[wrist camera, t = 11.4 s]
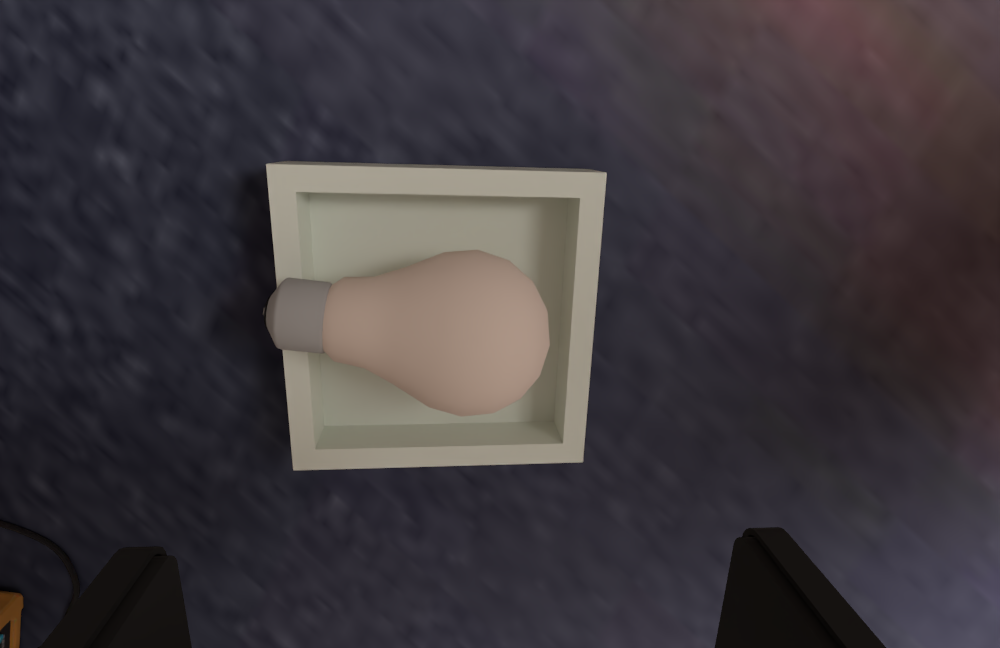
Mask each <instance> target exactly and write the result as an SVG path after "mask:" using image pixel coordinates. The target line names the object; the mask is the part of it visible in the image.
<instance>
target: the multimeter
mask: <svg viewBox="0 0 1000 648" xmlns="http://www.w3.org/2000/svg"><path fill="white" fill-rule="evenodd" d="M0 527H3V528H6V529H9V530H12V531H15V532H18V533H20V534H23V535H26V536H28V537H30V538H32V539H35V540H37V541H39V542H40V543H42V544H44V545H46V546H47V547H49V548H50V549H51V550H53V551H54V552H55V553H56V554H57V555H58V556H59V557H60V558H61V560H62V561H63V563H64V564H65V566H66V568H67V570H68V572H69V574H70V577H71V579H72V583H73V589H74V593H73V598H72V601H71V603H70V605H69V607H68V610H67V612H66V614H67V613H68V612H69V610H70V609H71V608H72V607H73V605H74V604H75V603H76V602H77V600H78V597H79V593H80V584H79V580H78V577H77V574H76V572H75V570H74V567H73V565H72V563H71V561H70V560H69V558H68V557H67V555H66V554H65V553H64V552H63V551H62V550H61V549H60V548H59V547H58V546H57V545H55V544H54V543H52V542H51V541H49V540H48V539H46V538H44V537H42V536H40V535H38V534H36V533H34V532H32V531H29V530H27V529H24V528H21V527H19V526H16V525H13V524H10V523H7V522H3V521H0ZM22 608H23V596H22V595H21V594H20V593H14V592H6V591H0V648H19V644H20V623H21V610H22ZM66 614H65V615H66Z"/></svg>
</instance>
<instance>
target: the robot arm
mask: <svg viewBox="0 0 1000 648" xmlns="http://www.w3.org/2000/svg"><path fill="white" fill-rule="evenodd" d="M38 648H192V647H191V641H190V635H189V629H188V623H187V617H186V611H185V605H184V599H183V594H182V588H181V582H180V576H179V570H178V564H177V560H176V558H175V557H174V556H167V554H166V551H165V550H164V548H163V547H126V548H122V549H119V550H118V551H117V552H116V553H115V554H114V555H113V557H112V558H111V559H110V560H109V562H108V563H107V564H106V565H105V567H104V568H103V569H102V570H101V572H100V573H99V574H98V575H97V577H96V578H95V579H94V580H93V582H92V583H91V584H90V585H89V587H88V588H87V589H86V590H85V592H84V593H83V594H82V595H81V597H80V598H79V599H78V600H77V602H76V603H75V604H74V605H73V607H72V608H71V609H70V610H69V612H68V613H67V614H66V615H65V617H64V618H63V619H62V620H61V622H60V623H59V624H58V625H57V627H56V628H55V629H54V630H53V632H52V633H51V634H50V635H49V637H48V638H47V639H46V640H45V642H44V643H43V644H42V645H41V646H40V647H38ZM715 648H886V647H885V646H884V645H883V644H882V642H881V641H880V640H879V639H878V638H877V637H876V635H875V634H874V633H873V632H872V631H871V630H870V628H869V627H868V626H867V625H866V624H865V623H864V621H863V620H862V619H861V618H860V617H859V616H858V614H857V613H856V612H855V611H854V610H853V609H852V607H851V606H850V605H849V604H848V603H847V602H846V600H845V599H844V598H843V597H842V596H841V595H840V593H839V592H838V591H837V590H836V589H835V588H834V586H833V585H832V584H831V583H830V582H829V581H828V580H827V578H826V577H825V576H824V575H823V574H822V573H821V571H820V570H819V569H818V568H817V567H816V566H815V564H814V563H813V562H812V561H811V560H810V559H809V557H808V556H807V555H806V554H805V553H804V552H803V550H802V549H801V548H800V547H799V546H798V545H797V543H796V542H795V541H794V540H793V539H792V538H791V536H790V535H789V534H788V533H787V532H786V531H785V530H784V529H782V528H779V527H774V528H749V529H746V530H745V532H744V533H743V536H742V537H739V538H737V539H736V540H735V542H734V546H733V551H732V557H731V562H730V568H729V573H728V579H727V584H726V590H725V595H724V601H723V606H722V612H721V617H720V622H719V628H718V633H717V639H716V644H715Z"/></svg>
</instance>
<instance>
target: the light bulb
mask: <svg viewBox="0 0 1000 648" xmlns="http://www.w3.org/2000/svg"><path fill="white" fill-rule="evenodd" d="M263 315H264V322H265V326H266V328H268V331H269V333H270V335H271V337H272V339H273V341H274V344H275V346H276V347H277V348H279V349H282V350H291V351H301V352H311V353H321V354H322V353H326V354H327V355H328V356H329V357H330V358H331V359H332V360H333V361H335V362H339V363H343V364H348V365H352V366H356V367H361V368H365V369H366V370H368V371H370V372H372V373H374V374H376V375H377V376H379V377H381V378H383V379H385V380H386V381H388V382H390V383H392V384H393V385H395V386H397V387H398V388H400V389H401V390H403V391H404V392H406V393H407V394H409V395H411V396H412V397H414V398H415V399H417V400H418V401H420V402H421V403H423V404H425V405H426V406H428V407H429V408H433V409H436V410H440V411H443V412H447V413H450V414H454V415H457V416H461V417H462V416H472V415H481V414H491V413H495V412H497V411H499V410H501V409H502V408H504V407H506V406H508V405H510V404H512V403H514V402H516V401H517V400H519V399H521V398H522V396H523V395H524V394H525V393H526V392H527V390H528V389H529V388H530V387H531V386H532V385H533V383H534V382H535V381H536V380H537V379H538V377H539V376H540V374H541V371H542V368H543V365H544V361H545V358H546V355H547V352H548V349H549V346H550V340H549V324H548V312H547V309H546V307H545V305H544V303H543V301H542V299H541V297H540V295H539V293H538V291H537V289H536V287H535V285H534V283H533V281H532V280H531V279H530V278H529V277H527V276H526V275H525V274H524V273H523V272H522V271H521V270H520V269H518V268H517V267H516V266H515V265H514V264H513V263H512V262H511V261H509V260H506V259H504V258H501V257H498V256H495V255H492V254H489V253H486V252H483V251H480V250H466V251H453V252H443V253H441V254H438V255H435V256H433V257H430V258H428V259H425V260H422V261H420V262H417V263H415V264H412V265H410V266H407V267H404V268H401V269H398V270H394V271H391V272H388V273H384V274H381V275H378V276H375V277H343V278H342V279H340V280H339V281H337V282H336V283H334V284H333V285H332V283H330V282H324V281H315V280H306V279H298V278H286V279H285V280H284V281H282V282H281V284H280V285H279V286H278V287H277V289H276V290H275V291H274V293H273V294H272V295H271V296H270V297H269V298H268V300H267V302H266V305H265V308H264V310H263Z"/></svg>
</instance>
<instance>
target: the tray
mask: <svg viewBox="0 0 1000 648" xmlns="http://www.w3.org/2000/svg"><path fill="white" fill-rule="evenodd" d="M266 170H267V181H268V192H269V204H270V215H271V226H272V237H273V249H274V260H275V271H276V282H277V287H278V286H279V285H280V284H281V282H282V281H284V280H285V279H286V278H298V279H306V280H315V281H324V282H330V283H332V285H333V284H334V283H336V282H337V281H339V280H340V279H342V278H343V277H375V276H378V275H381V274H384V273H388V272H391V271H394V270H398V269H401V268H404V267H407V266H410V265H412V264H415V263H417V262H420V261H422V260H425V259H428V258H430V257H433V256H435V255H438V254H441V253H443V252H453V251H466V250H480V251H483V252H486V253H489V254H492V255H495V256H498V257H501V258H504V259H506V260H509V261H511V262H512V263H513V264H514V265H515V266H516V267H517V268H518V269H520V270H521V271H522V272H523V273H524V274H525V275H526V276H527V277H529V278H530V279H531V280H532V281H533V283H534V285H535V287H536V289H537V291H538V293H539V295H540V297H541V299H542V301H543V303H544V305H545V307H546V309H547V312H548V324H549V340H550V346H549V349H548V352H547V355H546V358H545V361H544V365H543V368H542V371H541V374H540V376H539V377H538V379H537V380H536V381H535V382H534V383H533V385H532V386H531V387H530V388H529V389H528V390H527V392H526V393H525V394H524V395H523V396H522V398H521V399H519V400H517V401H516V402H514V403H512V404H510V405H508V406H506V407H504V408H502V409H501V410H499V411H497V412H495V413H491V414H481V415H472V416H462V417H461V416H457V415H454V414H450V413H447V412H443V411H440V410H436V409H433V408H429V407H428V406H426V405H425V404H423V403H421V402H420V401H418V400H417V399H415V398H414V397H412V396H411V395H409V394H407V393H406V392H404V391H403V390H401V389H400V388H398V387H397V386H395V385H393V384H392V383H390V382H388V381H386V380H385V379H383V378H381V377H379V376H377V375H376V374H374V373H372V372H370V371H368V370H366V369H365V368H361V367H356V366H352V365H348V364H343V363H339V362H335V361H333V360H332V359H331V358H330V357H329V356H328V355H327V354H326V353H322V354H321V353H311V352H301V351H291V350H283V361H284V372H285V383H286V395H287V406H288V417H289V428H290V439H291V451H292V462H293V470H328V469H363V468H399V467H434V466H470V465H505V464H541V463H576V462H583V455H584V443H585V431H586V419H587V407H588V395H589V383H590V370H591V358H592V346H593V334H594V322H595V310H596V298H597V286H598V274H599V261H600V249H601V237H602V225H603V213H604V201H605V189H606V177H607V173H606V172H601V171H596V170H591V169H569V168H531V167H493V166H455V165H417V164H379V163H341V162H303V161H283V162H276V163H269V164H266Z"/></svg>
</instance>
